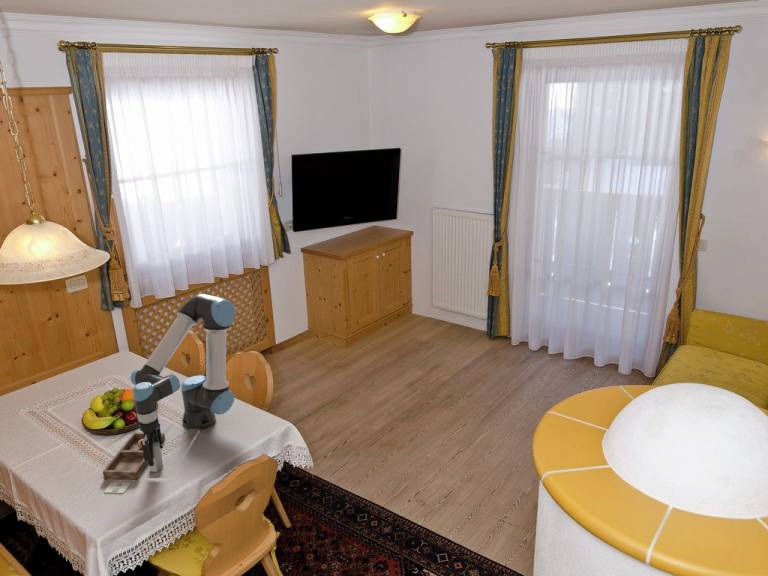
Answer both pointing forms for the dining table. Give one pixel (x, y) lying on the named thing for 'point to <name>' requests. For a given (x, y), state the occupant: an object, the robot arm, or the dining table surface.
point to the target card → (117, 488)
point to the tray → (128, 460)
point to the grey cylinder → (157, 455)
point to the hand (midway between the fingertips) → (156, 466)
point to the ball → (140, 443)
